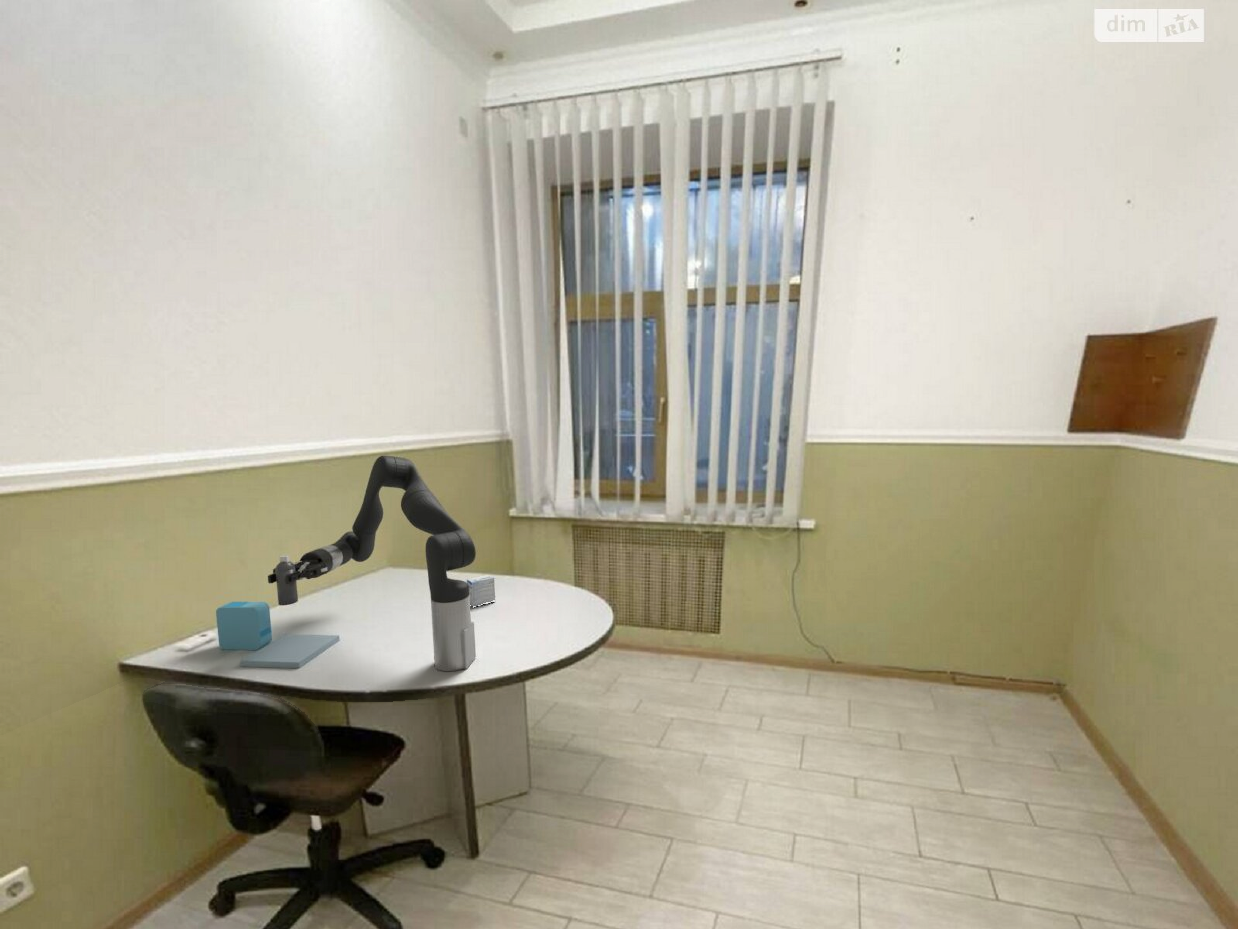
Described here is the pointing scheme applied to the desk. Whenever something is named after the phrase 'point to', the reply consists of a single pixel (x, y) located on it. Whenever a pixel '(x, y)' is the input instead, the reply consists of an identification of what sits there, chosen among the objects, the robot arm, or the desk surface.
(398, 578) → the desk surface
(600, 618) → the desk surface
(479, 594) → the medicine box
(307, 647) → the plate
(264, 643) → the data package
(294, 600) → the dark grey bottle
